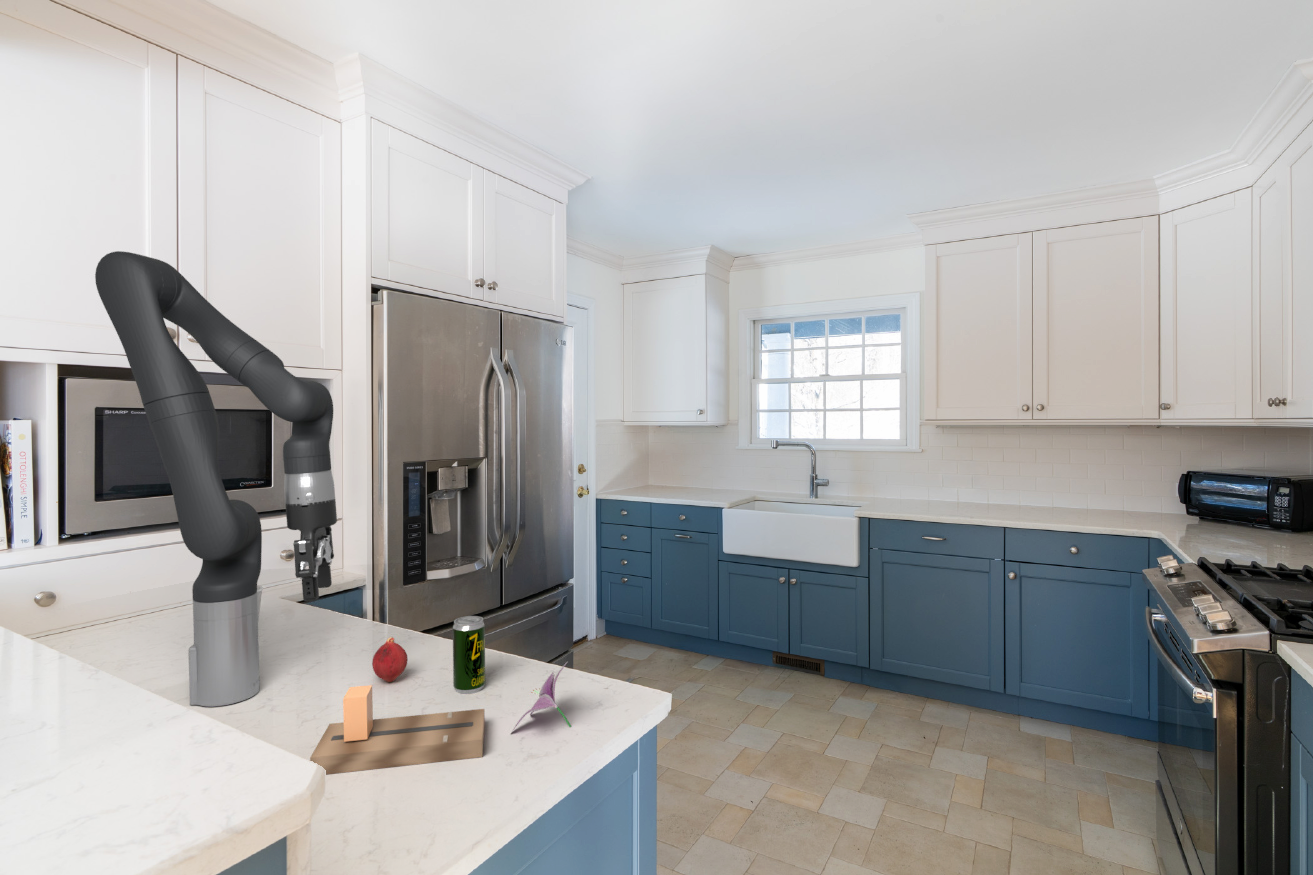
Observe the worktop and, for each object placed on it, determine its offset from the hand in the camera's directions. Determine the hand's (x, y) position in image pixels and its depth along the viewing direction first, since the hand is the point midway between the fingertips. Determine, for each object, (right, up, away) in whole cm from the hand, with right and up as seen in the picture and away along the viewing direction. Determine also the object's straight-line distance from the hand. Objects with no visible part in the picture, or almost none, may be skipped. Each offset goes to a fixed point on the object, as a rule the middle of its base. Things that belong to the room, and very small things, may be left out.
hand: (318, 593), depth 113 cm
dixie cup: (-33, -17, +33) cm, 49 cm away
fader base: (+21, -18, -18) cm, 33 cm away
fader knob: (+15, -15, -19) cm, 29 cm away
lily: (+40, -18, -10) cm, 45 cm away
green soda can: (+25, -18, +4) cm, 30 cm away
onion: (+10, -18, +6) cm, 21 cm away
